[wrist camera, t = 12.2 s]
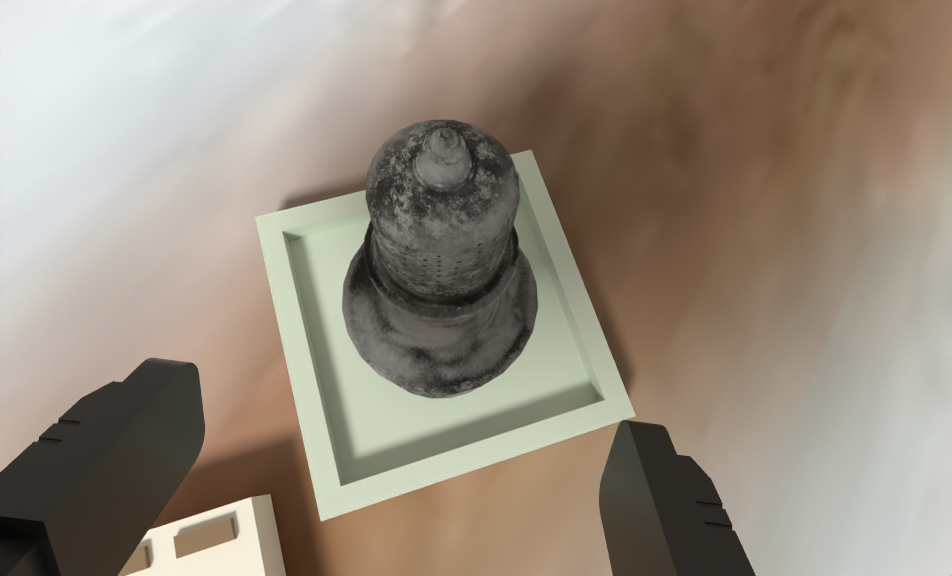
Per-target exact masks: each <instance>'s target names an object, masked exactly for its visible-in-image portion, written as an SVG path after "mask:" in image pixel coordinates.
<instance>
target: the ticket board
mask: <svg viewBox="0 0 952 576" xmlns="http://www.w3.org/2000/svg"><path fill="white" fill-rule="evenodd" d="M118 576H286V572H285V567H284V562H283V556H282V551H281V546H280V541H279V536H278V531H277V525H276V520H275V515H274V510H273V505H272V500H271V495H270V494H267V495H261V496H255V497H250V498H247V499H244V500H240V501H237V502H234V503H231V504H228V505H225V506H222V507H219V508H216V509H213V510H209V511H206V512H203V513H200V514H197V515H194V516H191V517H188V518H185V519H181V520H178V521H175V522H172V523H169V524H166V525H163V526H160V527H157V528H154V529H150V530H148V532H147V533H146V535H145V536H144V538H143V539H142V540H141V542H140V543H139V545H138V546H137V548H136V549H135V551H134V552H133V554H132V555H131V557H130V558H129V560H128V561H127V563H126V564H125V565H124V567H123V568H122V570H121V571H120V573H119V574H118Z"/></svg>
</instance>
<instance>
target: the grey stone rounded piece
mask: <svg viewBox="0 0 952 576" xmlns="http://www.w3.org/2000/svg"><path fill="white" fill-rule="evenodd" d="M365 199H366V203H367V207H368V210H369V214H370V218H371V220H370V223H369V225H368V228H367V231H366V234H365V237H364V242H363V244H362V245H361V247H360V248H359V249H358V251H357V252H356V254H355V255H354V257H353V258H352V260H351V262H350V265H349V268H348V271H347V274H346V277H345V280H344V283H343V295H342V312H343V316H344V320H345V325H346V329H347V333H348V335H349V337H350V339H351V341H352V342H353V344H354V346H355V348H356V350H357V351H358V353H359V355H360V357H361V358H362V359H363V360H364V361H365V362H366V363H367V364H368V365H369V366H370V367H371V368H372V369H373V370H374V371H375V372H376V373H377V374H378V375H380V376H382V377H383V378H385V379H387V380H389V381H390V382H392V383H394V384H395V385H397V386H399V387H401V388H403V389H404V390H406V391H408V392H410V393H411V394H415V395H419V396H423V397H427V398H431V399H433V398H453V397H457V396H460V395H464V394H467V393H470V392H472V391H473V390H475V389H477V388H478V387H481V386H483V385H485V384H486V383H488V382H490V381H491V380H493V379H494V378H496V377H498V376H499V375H501V374H503V373H504V372H505V371H506V370H507V369H508V368H509V367H510V365H511V364H512V363H513V362H514V361H515V360H516V359H517V358H518V357H519V356H520V355H521V353H522V352H523V350H524V348H525V346H526V344H527V342H528V340H529V338H530V336H531V334H532V333H533V329H534V324H535V320H536V315H537V310H538V298H537V283H536V280H535V277H534V274H533V271H532V269H531V266H530V263H529V260H528V259H527V257H526V256H525V254H524V253H523V251H522V250H521V248H520V247H519V239H518V235H517V232H516V229H515V226H514V220H515V217H516V213H517V209H518V205H519V201H520V192H519V179H518V174H517V171H516V168H515V165H514V162H513V160H512V158H511V156H510V155H509V153H508V152H507V151H506V149H505V148H504V146H503V145H502V144H501V143H500V142H499V141H497V140H496V139H495V138H494V137H493V136H491V135H490V134H489V133H488V132H486V131H484V130H482V129H480V128H478V127H475V126H473V125H471V124H467V123H463V122H459V121H455V120H430V121H426V122H421V123H416V124H413V125H411V126H409V127H407V128H405V129H402V130H400V131H398V132H397V133H396V134H394V135H393V136H392V137H391V138H389V139H388V140H387V141H386V142H384V144H383V145H382V146H381V148H380V149H379V150H378V152H377V153H376V155H375V156H374V157H373V160H372V163H371V166H370V169H369V171H368V175H367V180H366V197H365Z"/></svg>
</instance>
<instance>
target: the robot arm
mask: <svg viewBox="0 0 952 576" xmlns="http://www.w3.org/2000/svg"><path fill="white" fill-rule="evenodd" d="M204 435H205V423H204V414H203V405H202V397H201V388H200V380H199V372H198V369H197V367H196V365H195V364H193V363H189V362H181V361H174V360H166V359H158V358H149V359H147V360H145V361H144V362H143V363H141V364H140V365H139V366H138V367H137V368H136V369H135V370H134V371H133V372H132V373H131V374H130V375H129V376H128V377H127V378H126V379H125V380H124V381H123V382H115V381H113V382H111V383H109V384H107V385H105V386H103V387H101V388H99V389H98V390H96V391H94V392H92V393H90V394H88V395H86V396H84V397H82V398H81V399H80V400H79V401H78V402H77V403H76V404H75V405H73V406H72V407H71V408H70V409H69V410H68V411H67V412H66V413H65V414H64V415H63V416H61V417H60V418H59V421H58V423H57V424H55V423H54V424H53V425H52V426H50V427H49V428H48V429H47V430H46V431H45V432H44V433H43V434H42V435H41V436H40V437H39V440H38V442H33V443H32V444H31V445H30V446H29V447H28V448H26V449H25V450H24V451H23V452H22V453H21V454H20V455H19V456H18V457H17V458H16V459H14V460H13V461H12V462H11V463H10V464H9V465H8V466H7V467H6V468H5V469H4V470H2V471H1V472H0V576H118V574H119V573H120V571H121V570H122V568H123V567H124V565H125V564H126V563H127V561H128V560H129V558H130V557H131V555H132V554H133V552H134V551H135V549H136V548H137V546H138V545H139V543H140V542H141V540H142V539H143V538H144V536H145V535H146V533H147V532H148V530H149V529H150V527H151V526H152V524H153V523H154V521H155V520H156V518H157V517H158V516H159V514H160V513H161V511H162V510H163V508H164V507H165V505H166V504H167V502H168V501H169V499H170V498H171V496H172V495H173V493H174V492H175V491H176V489H177V488H178V486H179V485H180V483H181V482H182V480H183V479H184V477H185V476H186V474H187V473H188V471H189V470H190V468H191V467H192V466H193V464H194V463H195V461H196V459H197V457H198V455H199V453H200V451H201V448H202V445H203V441H204ZM722 505H723V504H722V502H721V499H720V497H719V495H718V493H717V491H716V489H715V486H714V484H713V482H712V480H711V478H710V477H709V476H708V475H707V474H706V473H705V472H704V471H703V470H702V469H701V468H700V466H699V465H698V464H697V463H696V462H695V461H694V460H693V459H692V458H691V457H690V456H683V455H677V453H676V451H675V449H674V446H673V444H672V441H671V439H670V436H669V434H668V432H667V429H666V428H665V427H664V426H663V425H659V424H651V423H643V422H636V421H628V420H623V421H621V423H620V424H619V426H618V429H617V432H616V435H615V438H614V441H613V444H612V447H611V450H610V453H609V457H608V460H607V463H606V466H605V469H604V472H603V475H602V479H601V483H600V491H599V507H600V514H601V519H602V524H603V529H604V534H605V539H606V544H607V548H608V553H609V558H610V563H611V568H612V573H613V576H756V575H755V573H754V571H753V569H752V567H751V564H750V562H749V560H748V558H747V556H746V554H745V551H744V549H743V547H742V545H741V543H740V541H739V538H738V536H737V534H736V532H735V531H733V530H732V523H731V521H730V519H729V517H728V515H727V512H726V510H725V509H723V508H722Z"/></svg>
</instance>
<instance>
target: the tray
mask: <svg viewBox="0 0 952 576" xmlns="http://www.w3.org/2000/svg"><path fill="white" fill-rule="evenodd" d="M510 156H511V158H512V160H513V162H514V165H515V168H516V171H517V174H518V179H519V192H520V201H519V205H518V209H517V213H516V217H515V220H514V226H515V229H516V232H517V235H518V239H519V247H520V248H521V250H522V251H523V253H524V254H525V256H526V257H527V259H528V260H529V263H530V266H531V269H532V271H533V274H534V277H535V280H536V283H537V298H538V310H537V315H536V320H535V324H534V329H533V333H532V334H531V336H530V338H529V340H528V342H527V344H526V346H525V348H524V350H523V352H522V353H521V355H520V356H519V357H518V358H517V359H516V360H515V361H514V362H513V363H512V364H511V365H510V367H509V368H508V369H507V370H506V371H505V372H504V373H503V374H501V375H499V376H498V377H496V378H494V379H493V380H491V381H490V382H488V383H486V384H485V385H483V386H481V387H478V388H477V389H475V390H473V391H472V392H470V393H467V394H464V395H460V396H457V397H453V398H433V399H431V398H427V397H423V396H419V395H415V394H411V393H410V392H408V391H406V390H404V389H403V388H401V387H399V386H397V385H395V384H394V383H392V382H390V381H389V380H387V379H385V378H383V377H382V376H380V375H378V374H377V373H376V372H375V371H374V370H373V369H372V368H371V367H370V366H369V365H368V364H367V363H366V362H365V361H364V360H363V359H362V358H361V357H360V355H359V353H358V351H357V350H356V348H355V346H354V344H353V342H352V341H351V339H350V337H349V335H348V333H347V329H346V325H345V320H344V316H343V312H342V295H343V283H344V280H345V277H346V274H347V271H348V268H349V265H350V262H351V260H352V258H353V257H354V255H355V254H356V252H357V251H358V249H359V248H360V247H361V245H362V244H363V242H364V237H365V234H366V231H367V228H368V225H369V223H370V220H371V218H370V214H369V210H368V207H367V203H366V199H365V197H366V190H363V191H359V192H355V193H351V194H347V195H343V196H339V197H335V198H331V199H326V200H322V201H318V202H314V203H310V204H306V205H302V206H298V207H294V208H290V209H285V210H281V211H277V212H273V213H269V214H265V215H261V216H257V217H255V219H256V224H257V228H258V233H259V238H260V242H261V247H262V252H263V256H264V261H265V265H266V270H267V275H268V279H269V284H270V289H271V293H272V298H273V303H274V307H275V312H276V316H277V321H278V326H279V330H280V335H281V340H282V344H283V349H284V353H285V358H286V363H287V367H288V372H289V377H290V381H291V386H292V390H293V395H294V400H295V404H296V409H297V414H298V418H299V423H300V428H301V432H302V437H303V441H304V446H305V451H306V455H307V460H308V465H309V469H310V474H311V478H312V483H313V488H314V492H315V497H316V502H317V506H318V511H319V516H320V520H321V521H324V520H327V519H330V518H333V517H336V516H339V515H342V514H345V513H348V512H351V511H354V510H357V509H360V508H363V507H366V506H369V505H371V504H374V503H377V502H380V501H383V500H386V499H389V498H392V497H395V496H398V495H401V494H404V493H407V492H410V491H413V490H416V489H419V488H422V487H425V486H428V485H431V484H434V483H437V482H440V481H443V480H446V479H449V478H452V477H455V476H458V475H461V474H464V473H467V472H470V471H473V470H476V469H479V468H482V467H485V466H488V465H491V464H494V463H497V462H500V461H503V460H506V459H509V458H512V457H515V456H518V455H521V454H524V453H527V452H530V451H533V450H536V449H539V448H542V447H544V446H547V445H550V444H553V443H556V442H559V441H562V440H565V439H568V438H571V437H574V436H577V435H580V434H583V433H586V432H589V431H592V430H595V429H598V428H601V427H604V426H607V425H610V424H613V423H616V422H619V421H622V420H625V419H628V418H631V417H634V416H636V415H635V413H634V410H633V408H632V405H631V403H630V400H629V397H628V395H627V392H626V390H625V387H624V385H623V382H622V380H621V377H620V375H619V372H618V369H617V367H616V364H615V362H614V359H613V357H612V354H611V352H610V349H609V346H608V344H607V341H606V339H605V336H604V334H603V331H602V329H601V326H600V323H599V321H598V318H597V316H596V313H595V311H594V308H593V306H592V303H591V300H590V298H589V295H588V293H587V290H586V288H585V285H584V283H583V280H582V278H581V275H580V272H579V270H578V267H577V265H576V262H575V260H574V257H573V255H572V252H571V249H570V247H569V244H568V242H567V239H566V237H565V234H564V232H563V229H562V226H561V224H560V221H559V219H558V216H557V214H556V211H555V209H554V206H553V203H552V201H551V198H550V196H549V193H548V191H547V188H546V186H545V183H544V181H543V178H542V175H541V173H540V170H539V168H538V165H537V163H536V160H535V158H534V155H533V152H532V150H527V151H523V152H519V153H515V154H511V155H510Z"/></svg>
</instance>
